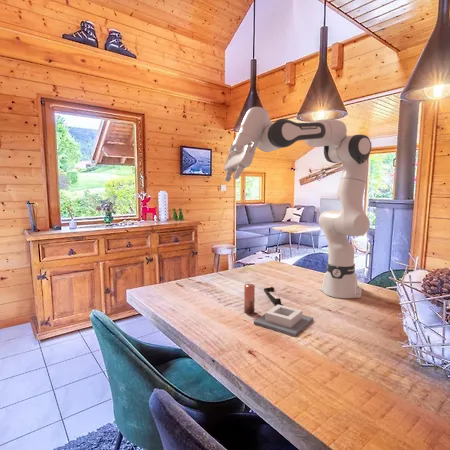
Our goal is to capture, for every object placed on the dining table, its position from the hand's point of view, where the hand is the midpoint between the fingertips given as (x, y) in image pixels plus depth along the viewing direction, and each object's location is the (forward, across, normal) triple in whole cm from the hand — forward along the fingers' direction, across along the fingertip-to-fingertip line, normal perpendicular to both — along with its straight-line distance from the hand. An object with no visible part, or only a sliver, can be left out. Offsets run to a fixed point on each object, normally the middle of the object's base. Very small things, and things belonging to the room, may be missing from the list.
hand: (231, 179), depth 114 cm
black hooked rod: (+38, +9, -42) cm, 57 cm away
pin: (+45, +2, -28) cm, 53 cm away
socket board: (+42, -10, -36) cm, 56 cm away
